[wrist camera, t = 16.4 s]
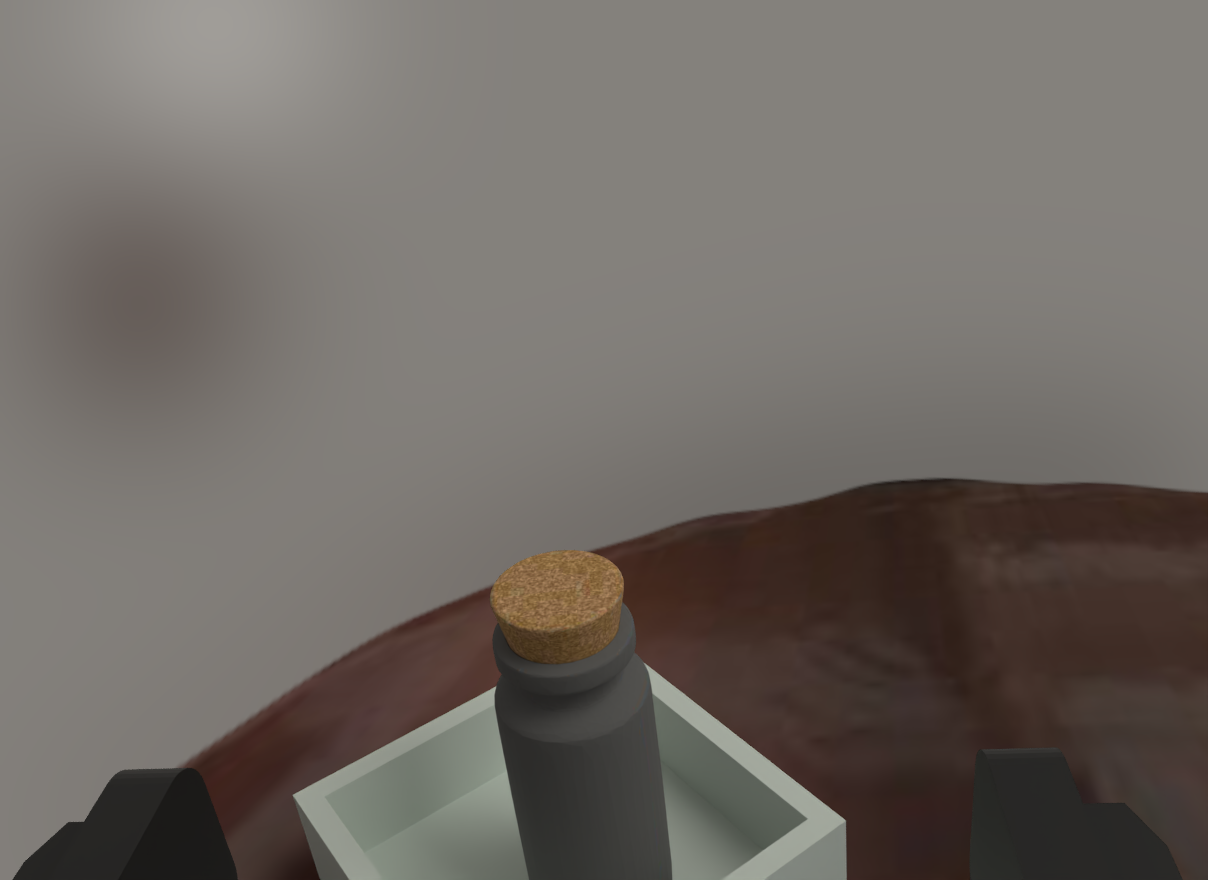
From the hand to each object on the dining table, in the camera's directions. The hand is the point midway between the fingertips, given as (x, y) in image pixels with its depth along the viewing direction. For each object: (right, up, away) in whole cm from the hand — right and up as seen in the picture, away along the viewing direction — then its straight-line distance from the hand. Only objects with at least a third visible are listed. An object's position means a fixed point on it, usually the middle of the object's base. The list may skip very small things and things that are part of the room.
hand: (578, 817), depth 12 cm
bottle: (0, -15, +35) cm, 38 cm away
